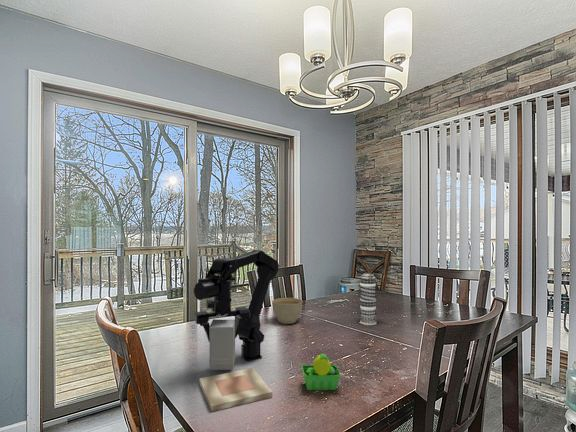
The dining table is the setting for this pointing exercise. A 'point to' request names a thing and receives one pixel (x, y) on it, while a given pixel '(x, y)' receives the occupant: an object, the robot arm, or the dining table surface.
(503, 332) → the dining table surface
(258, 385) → the birch base
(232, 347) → the skincare box
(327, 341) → the dining table surface
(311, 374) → the fruit basket
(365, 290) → the decorative candle
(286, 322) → the planter bowl
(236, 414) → the dining table surface
